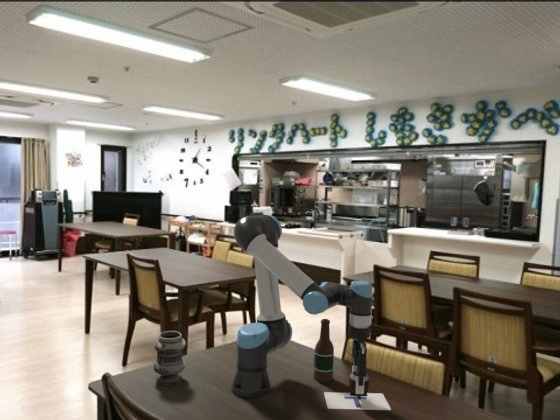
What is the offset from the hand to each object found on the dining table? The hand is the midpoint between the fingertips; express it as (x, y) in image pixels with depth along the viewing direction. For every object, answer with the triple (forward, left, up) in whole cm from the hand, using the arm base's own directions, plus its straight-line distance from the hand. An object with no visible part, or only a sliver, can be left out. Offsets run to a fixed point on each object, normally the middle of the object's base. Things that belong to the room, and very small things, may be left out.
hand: (357, 388), depth 162 cm
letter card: (0, +1, -5) cm, 5 cm away
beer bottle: (-10, +19, -5) cm, 22 cm away
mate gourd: (0, 0, -3) cm, 3 cm away
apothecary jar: (-70, +15, -5) cm, 72 cm away
